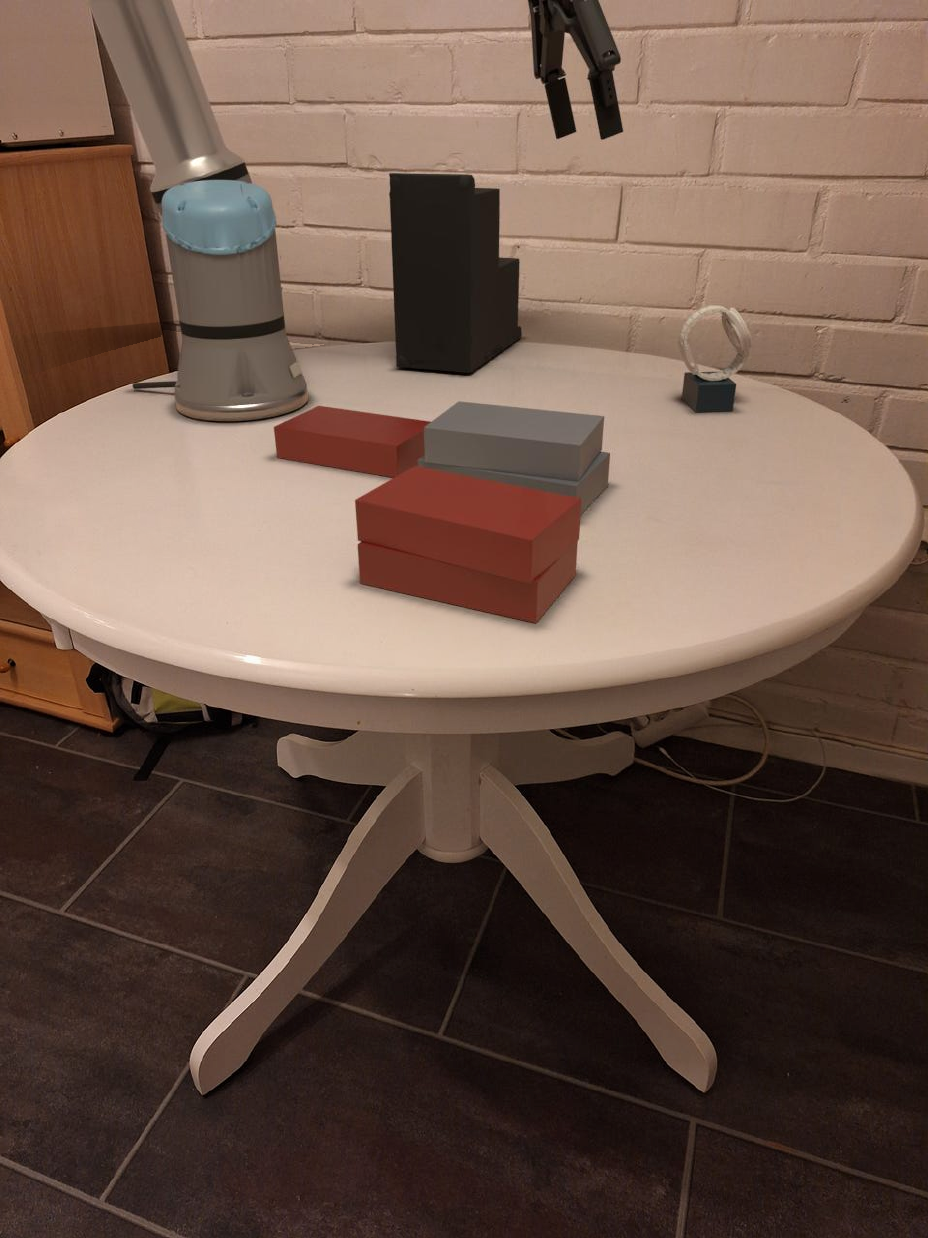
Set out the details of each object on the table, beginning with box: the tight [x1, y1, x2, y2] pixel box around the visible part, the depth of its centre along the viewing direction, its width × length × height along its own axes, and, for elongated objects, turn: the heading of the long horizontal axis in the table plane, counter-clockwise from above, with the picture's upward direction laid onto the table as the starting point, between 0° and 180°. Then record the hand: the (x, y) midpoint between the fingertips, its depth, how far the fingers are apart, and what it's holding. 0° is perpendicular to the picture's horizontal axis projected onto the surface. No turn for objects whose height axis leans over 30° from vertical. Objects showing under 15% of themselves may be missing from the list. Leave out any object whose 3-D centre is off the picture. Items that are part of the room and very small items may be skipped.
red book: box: [273, 405, 431, 479], centre depth 91 cm, size 14×8×3 cm, turn 64°
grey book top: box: [424, 400, 605, 481], centre depth 81 cm, size 14×8×3 cm, turn 69°
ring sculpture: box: [677, 304, 754, 413], centre depth 103 cm, size 6×8×11 cm
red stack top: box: [354, 466, 582, 583], centre depth 65 cm, size 14×8×3 cm, turn 60°
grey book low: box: [418, 451, 611, 515], centre depth 82 cm, size 15×9×3 cm, turn 64°
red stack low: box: [357, 540, 579, 624], centre depth 67 cm, size 14×8×3 cm, turn 64°
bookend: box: [388, 172, 523, 374], centre depth 123 cm, size 23×11×24 cm, turn 160°
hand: (588, 135), depth 115 cm, fingers open, 13 cm apart
